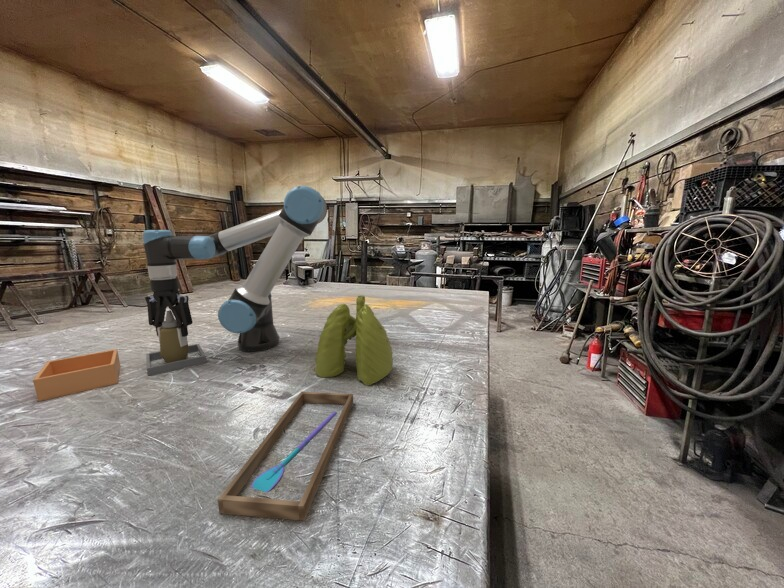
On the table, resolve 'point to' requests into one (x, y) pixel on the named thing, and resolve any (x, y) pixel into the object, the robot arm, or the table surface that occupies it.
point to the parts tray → (174, 365)
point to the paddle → (283, 464)
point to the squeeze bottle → (171, 341)
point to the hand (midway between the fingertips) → (174, 345)
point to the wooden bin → (77, 374)
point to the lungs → (369, 344)
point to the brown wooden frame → (262, 506)
